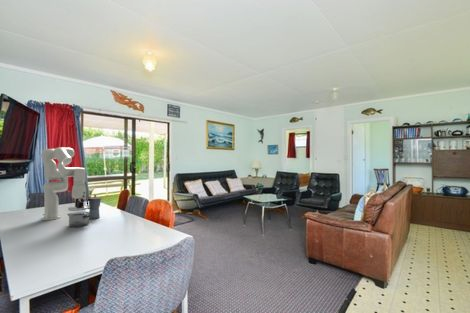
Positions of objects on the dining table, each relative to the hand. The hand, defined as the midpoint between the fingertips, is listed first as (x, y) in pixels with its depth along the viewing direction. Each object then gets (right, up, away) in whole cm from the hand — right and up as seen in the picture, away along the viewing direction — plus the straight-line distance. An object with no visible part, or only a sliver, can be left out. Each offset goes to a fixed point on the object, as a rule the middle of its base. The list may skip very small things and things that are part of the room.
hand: (79, 206), depth 179 cm
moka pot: (-1, -15, +20) cm, 25 cm away
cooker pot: (0, -14, 0) cm, 14 cm away
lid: (0, -2, 0) cm, 2 cm away
